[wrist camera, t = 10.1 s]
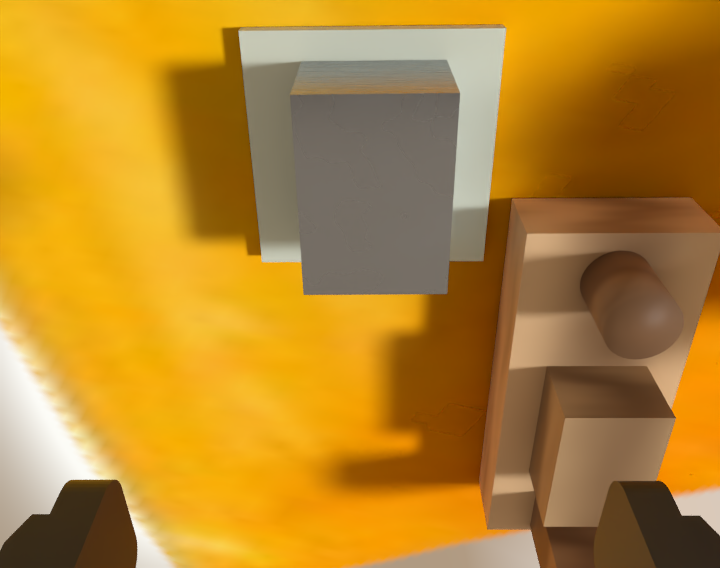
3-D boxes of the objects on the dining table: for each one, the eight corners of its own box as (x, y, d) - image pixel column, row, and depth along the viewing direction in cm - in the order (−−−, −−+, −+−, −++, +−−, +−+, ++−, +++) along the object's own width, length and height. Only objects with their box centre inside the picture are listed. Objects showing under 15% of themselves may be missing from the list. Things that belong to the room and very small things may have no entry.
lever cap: (312, 240, 27) (303, 294, 23) (301, 61, 23) (289, 94, 20) (437, 239, 27) (447, 294, 23) (446, 59, 23) (460, 93, 20)
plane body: (478, 481, 35) (509, 653, 27) (511, 198, 26) (569, 333, 19) (614, 481, 35) (683, 654, 27) (691, 197, 26) (823, 332, 19)
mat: (264, 254, 28) (262, 261, 27) (241, 27, 23) (238, 31, 23) (481, 254, 28) (483, 261, 27) (502, 24, 23) (506, 28, 23)
